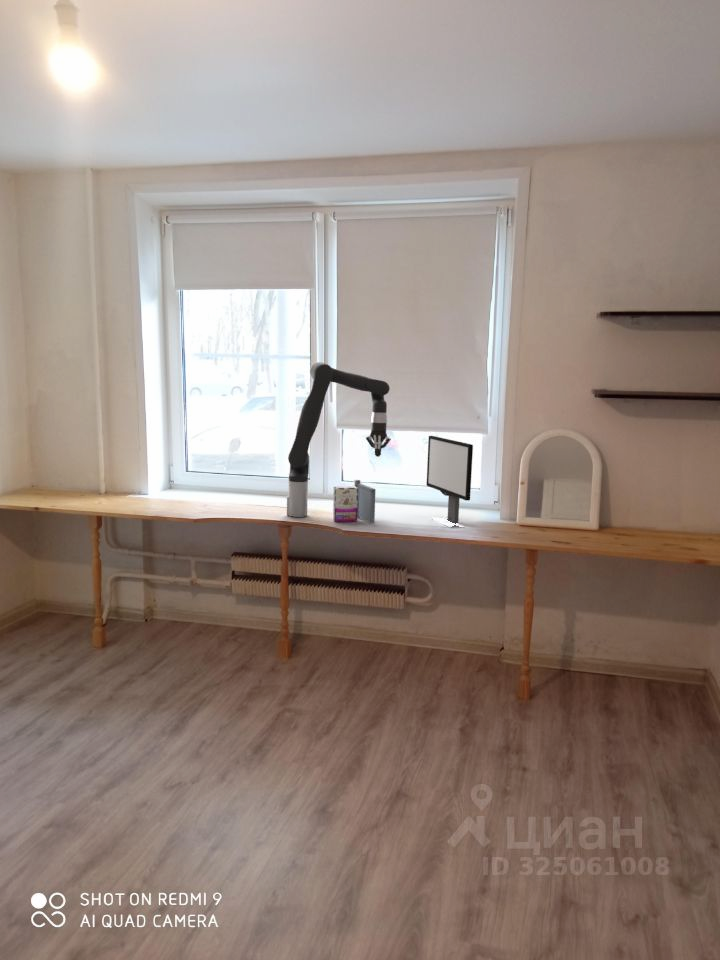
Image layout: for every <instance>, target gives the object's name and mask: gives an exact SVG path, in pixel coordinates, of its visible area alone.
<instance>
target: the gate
mask: <svg viewBox="0 0 720 960" xmlns="http://www.w3.org/2000/svg"><path fill="white" fill-rule="evenodd" d="M357 488H358V508H357V518H360V519H362V520H364V521H366V522H368V523H370V524H375V515H376V488H373V487H372V486H368V485H366V484H363V483H360V484H357Z"/></svg>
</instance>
